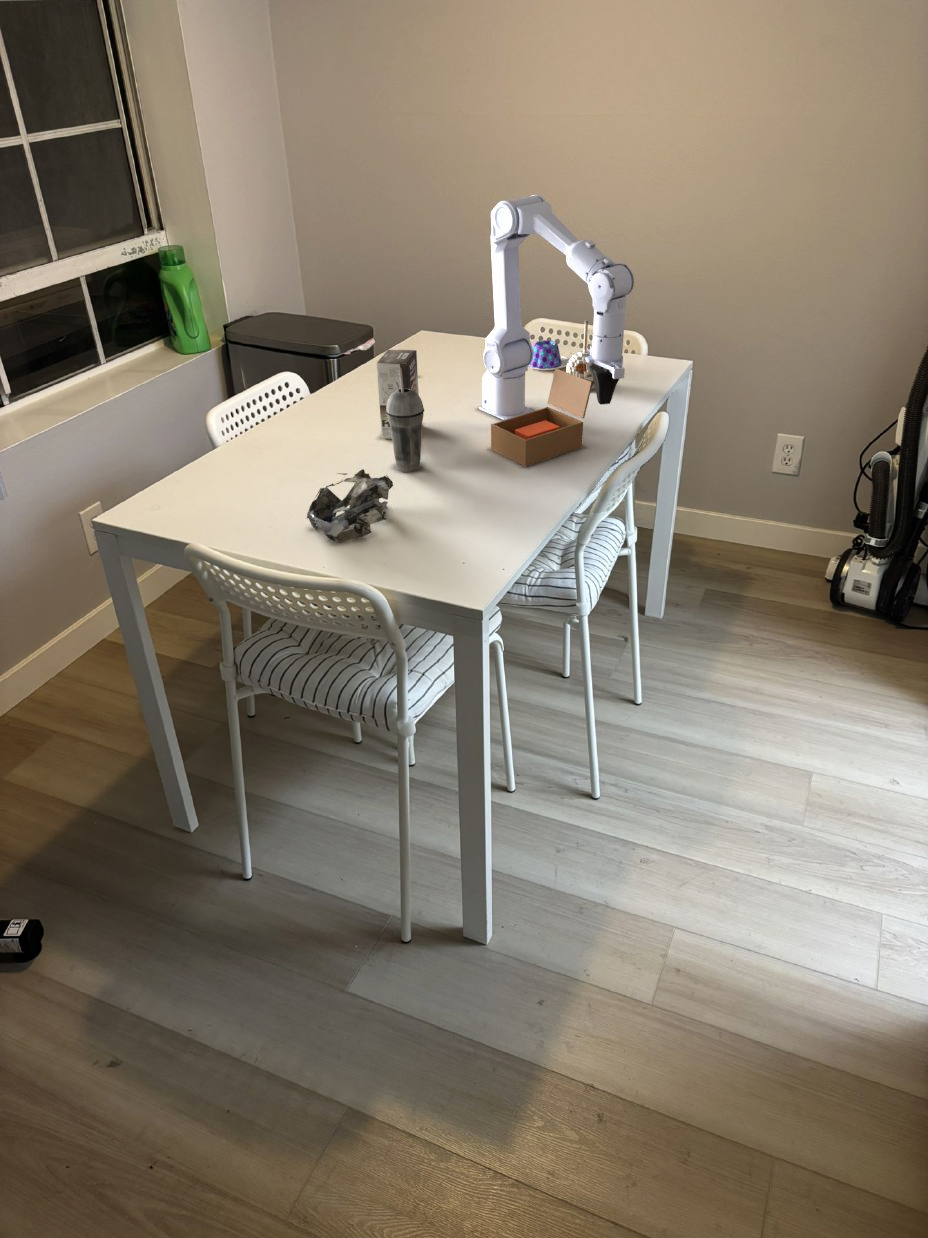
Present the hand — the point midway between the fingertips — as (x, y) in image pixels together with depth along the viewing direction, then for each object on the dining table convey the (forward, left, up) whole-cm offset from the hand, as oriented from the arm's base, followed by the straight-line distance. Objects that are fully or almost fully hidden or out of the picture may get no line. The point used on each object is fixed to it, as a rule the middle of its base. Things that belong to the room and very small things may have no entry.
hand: (604, 402), depth 186 cm
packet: (-8, -10, -9) cm, 16 cm away
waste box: (-8, -10, -9) cm, 16 cm away
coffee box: (-33, -26, -10) cm, 43 cm away
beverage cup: (-17, -35, -10) cm, 40 cm away
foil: (-3, -56, -10) cm, 57 cm away
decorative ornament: (-29, +22, -10) cm, 37 cm away
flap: (-8, -2, 0) cm, 8 cm away
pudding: (-46, +25, -10) cm, 53 cm away
